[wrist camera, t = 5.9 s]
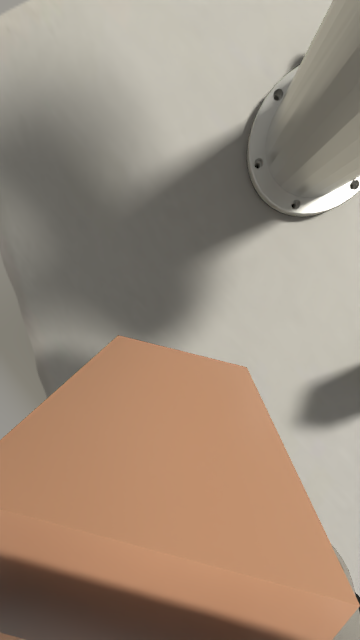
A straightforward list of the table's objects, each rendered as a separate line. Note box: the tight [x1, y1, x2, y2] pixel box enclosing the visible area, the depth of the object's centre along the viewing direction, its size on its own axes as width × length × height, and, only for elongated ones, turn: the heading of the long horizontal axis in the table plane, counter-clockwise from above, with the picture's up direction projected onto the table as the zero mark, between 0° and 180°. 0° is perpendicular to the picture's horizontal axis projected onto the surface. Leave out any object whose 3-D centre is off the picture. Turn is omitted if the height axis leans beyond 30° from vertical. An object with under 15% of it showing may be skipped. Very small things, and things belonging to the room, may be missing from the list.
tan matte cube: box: [0, 335, 360, 640], centre depth 7 cm, size 6×6×7 cm
